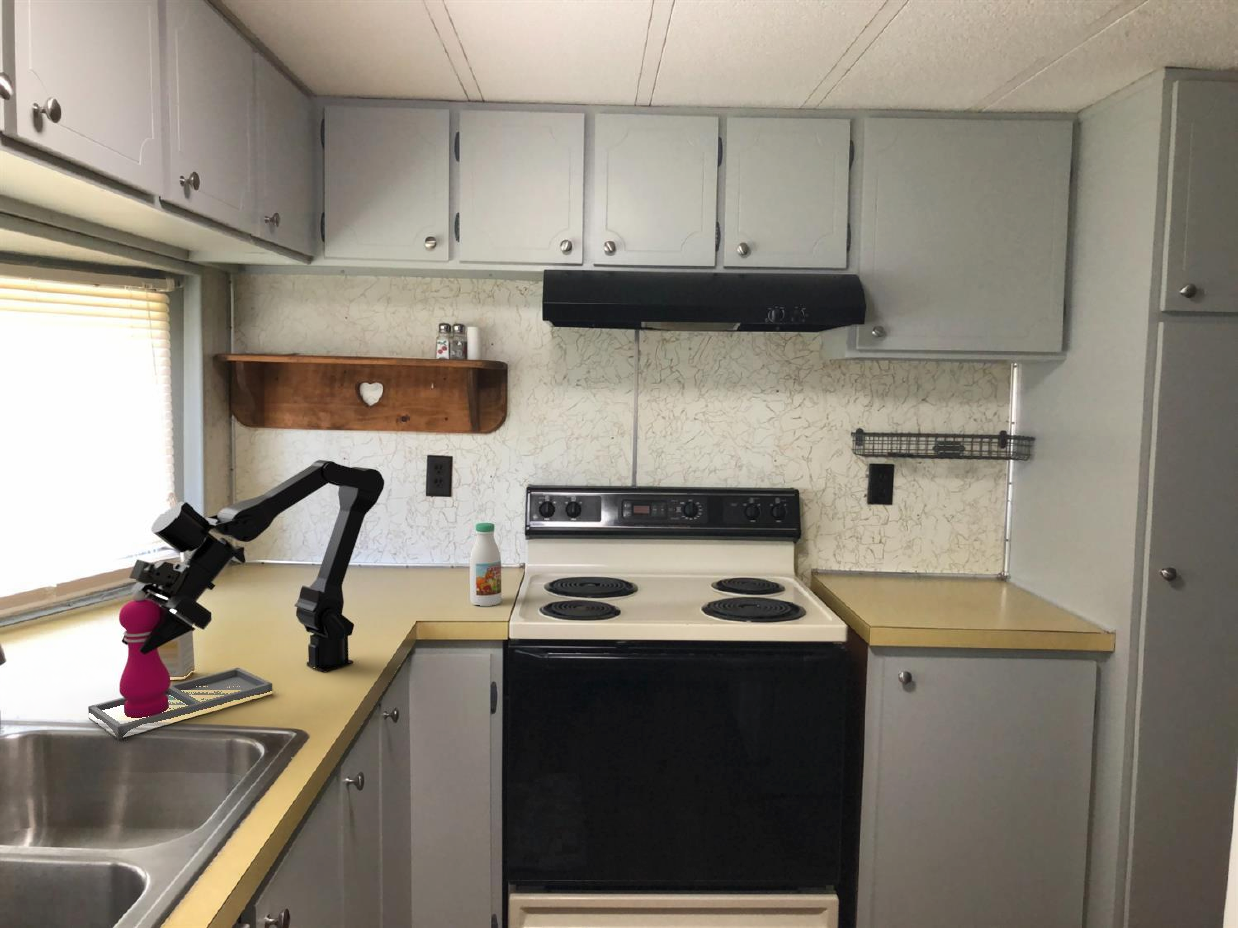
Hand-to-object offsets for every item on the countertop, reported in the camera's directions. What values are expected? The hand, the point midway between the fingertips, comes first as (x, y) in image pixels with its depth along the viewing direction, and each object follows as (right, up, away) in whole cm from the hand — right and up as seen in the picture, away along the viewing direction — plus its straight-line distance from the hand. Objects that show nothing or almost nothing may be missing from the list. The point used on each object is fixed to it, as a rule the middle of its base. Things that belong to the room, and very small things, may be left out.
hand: (132, 648), depth 132 cm
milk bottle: (+45, -5, +73) cm, 86 cm away
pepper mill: (+1, -11, +2) cm, 11 cm away
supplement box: (-6, -10, +21) cm, 24 cm away
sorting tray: (+5, -11, +7) cm, 14 cm away
